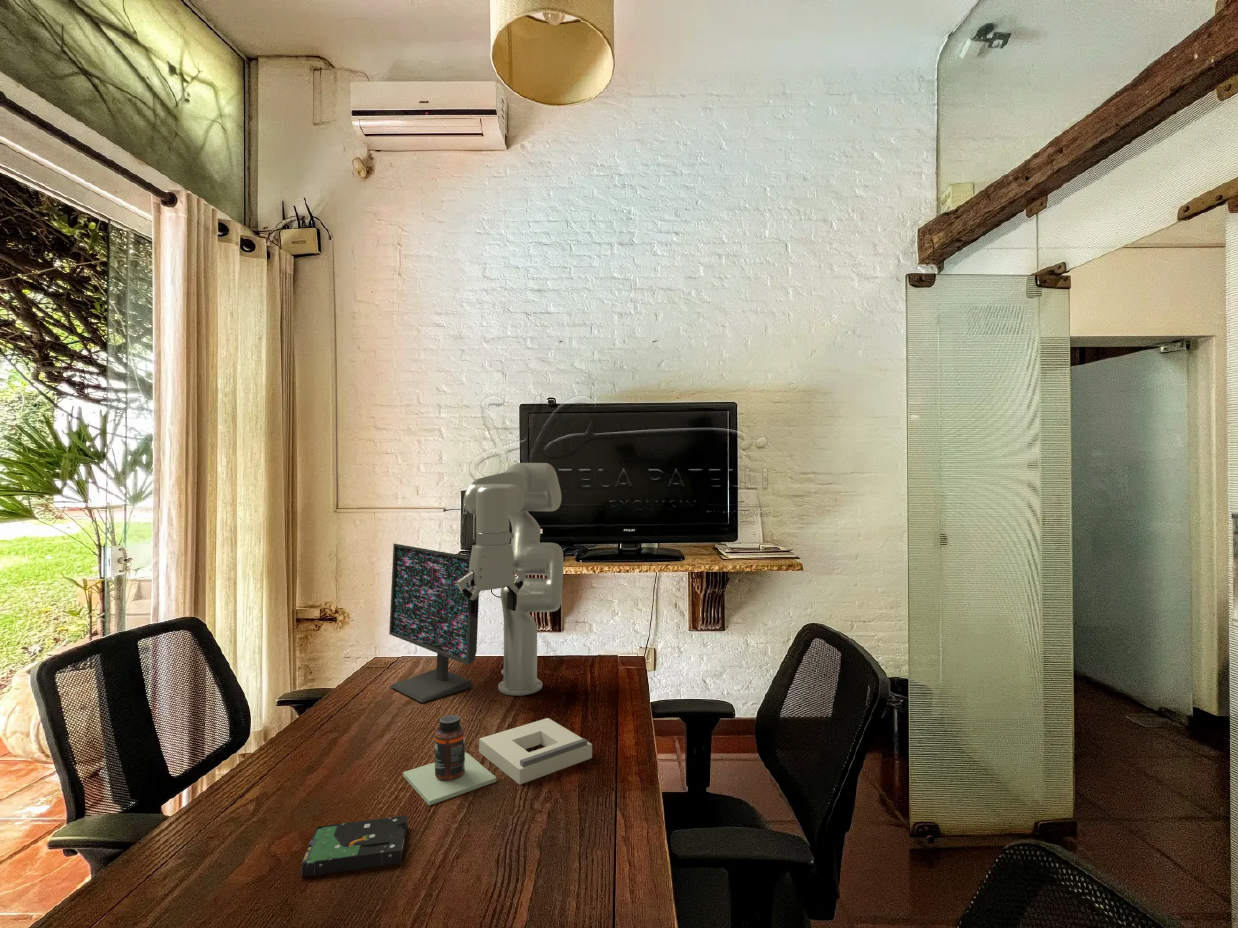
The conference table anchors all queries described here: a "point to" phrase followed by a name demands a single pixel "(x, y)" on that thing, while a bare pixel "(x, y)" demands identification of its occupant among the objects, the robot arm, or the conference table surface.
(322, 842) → the disk drive
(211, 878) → the conference table surface
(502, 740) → the dispenser block
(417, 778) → the sage mat
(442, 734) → the supplement bottle
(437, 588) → the computer monitor
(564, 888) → the conference table surface
